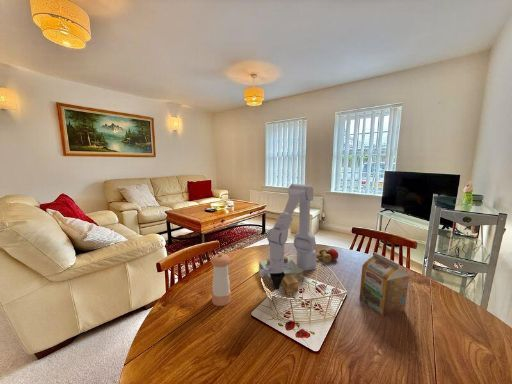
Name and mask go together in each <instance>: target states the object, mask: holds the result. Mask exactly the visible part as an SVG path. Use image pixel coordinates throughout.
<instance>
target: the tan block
mask: <svg viewBox="0 0 512 384" xmlns="http://www.w3.org/2000/svg"><path fill="white" fill-rule="evenodd" d="M280 286H282V289H284V291H285V292H286V293H287V294H288V293H294V292H299V281H297V280H296V278H295V277H294V276H293V275H286V276H284V278H283V279H282V281H281V284H280Z"/></svg>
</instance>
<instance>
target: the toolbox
mask: <svg viewBox="0 0 512 384" xmlns="http://www.w3.org/2000/svg"><path fill="white" fill-rule="evenodd" d="M261 269H263V268H262V267H261V265H260V263H259V266H258V271H259V272H260V270H261ZM292 275H293V276H294V277H295V278H296V280H297V281H298V282H301V280H302V281H303V272H302V273H298V274H292ZM263 279H264V281H265V282H266V284H267V285H268V287H272V286H273V281H272V279H271V278H269V277H268V276H267V275H264V277H263ZM273 287H274V286H273Z"/></svg>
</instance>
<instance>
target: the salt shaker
mask: <svg viewBox="0 0 512 384" xmlns="http://www.w3.org/2000/svg"><path fill="white" fill-rule="evenodd" d="M230 259H231V257H230V256H229V255H228V254H225V253H222V252H220V253H218V254H215V255H213V256H212V258H211V259H210V262H211V265H212V266H213V277H212V283H211V285H212V292H211V302H212V305H214V306H217V307H224V306H227V305H229V304H230V302H231V300H232V297H231V294H232V293H231V292H232V291H231V283H230V276H229V264H230V262H231V260H230Z"/></svg>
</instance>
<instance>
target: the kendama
mask: <svg viewBox="0 0 512 384" xmlns="http://www.w3.org/2000/svg"><path fill="white" fill-rule="evenodd" d="M318 251H319V252H318V253H316V255H317V259H320V258H321V260H322V261H323V262H324V263H330V262H331V261H335V260H338V258H339V253H338V251H337V249H334V248H330V249H328V250H327V249H326V248H321V249H320V250H318Z"/></svg>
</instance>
